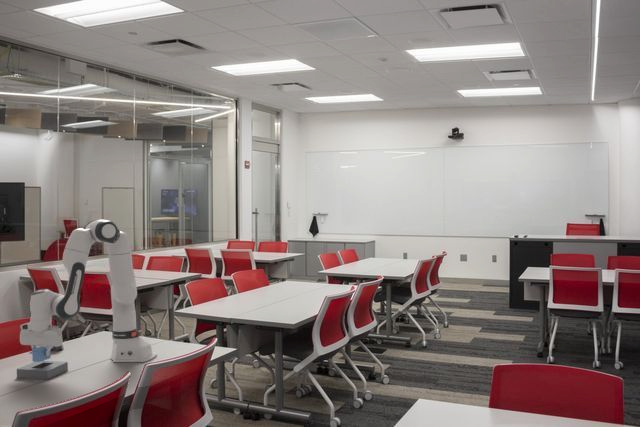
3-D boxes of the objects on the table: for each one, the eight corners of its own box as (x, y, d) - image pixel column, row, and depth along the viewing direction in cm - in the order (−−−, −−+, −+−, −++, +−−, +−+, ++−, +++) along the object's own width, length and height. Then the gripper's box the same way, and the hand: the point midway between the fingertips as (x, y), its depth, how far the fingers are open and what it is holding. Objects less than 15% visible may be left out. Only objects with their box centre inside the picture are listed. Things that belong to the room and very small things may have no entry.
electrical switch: (64, 349, 311) (61, 332, 311) (54, 352, 308) (51, 335, 307) (57, 346, 318) (55, 330, 317) (47, 349, 315) (45, 332, 314)
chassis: (67, 370, 274) (67, 361, 274) (47, 379, 260) (47, 370, 260) (38, 368, 277) (37, 360, 277) (16, 377, 264) (16, 369, 264)
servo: (53, 356, 273) (53, 341, 273) (37, 363, 263) (36, 347, 262) (45, 356, 274) (45, 341, 274) (29, 362, 263) (29, 347, 263)
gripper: (65, 324, 269) (65, 354, 269) (26, 322, 273) (27, 352, 274) (56, 327, 263) (56, 358, 263) (17, 325, 267) (17, 355, 267)
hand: (41, 355), depth 268 cm, fingers closed on servo, 4 cm apart
